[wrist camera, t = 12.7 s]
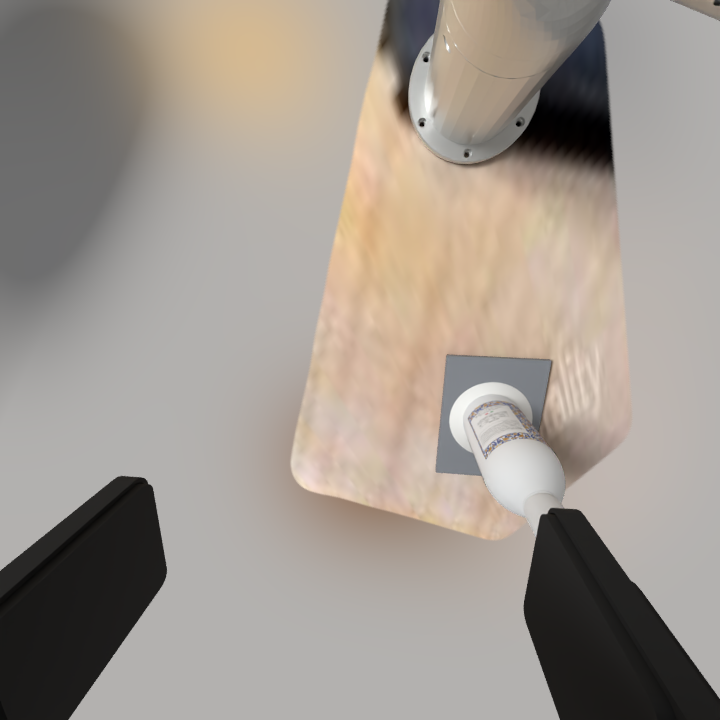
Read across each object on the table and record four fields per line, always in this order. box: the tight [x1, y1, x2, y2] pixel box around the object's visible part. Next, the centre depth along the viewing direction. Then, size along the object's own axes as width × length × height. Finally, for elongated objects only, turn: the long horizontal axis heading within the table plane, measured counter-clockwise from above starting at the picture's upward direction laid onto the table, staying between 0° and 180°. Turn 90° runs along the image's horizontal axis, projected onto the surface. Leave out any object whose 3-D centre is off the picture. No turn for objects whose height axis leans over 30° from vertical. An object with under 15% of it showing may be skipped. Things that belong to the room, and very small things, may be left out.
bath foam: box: [463, 394, 565, 537], centre depth 36 cm, size 7×7×20 cm
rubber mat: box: [436, 355, 551, 476], centre depth 46 cm, size 16×12×1 cm
